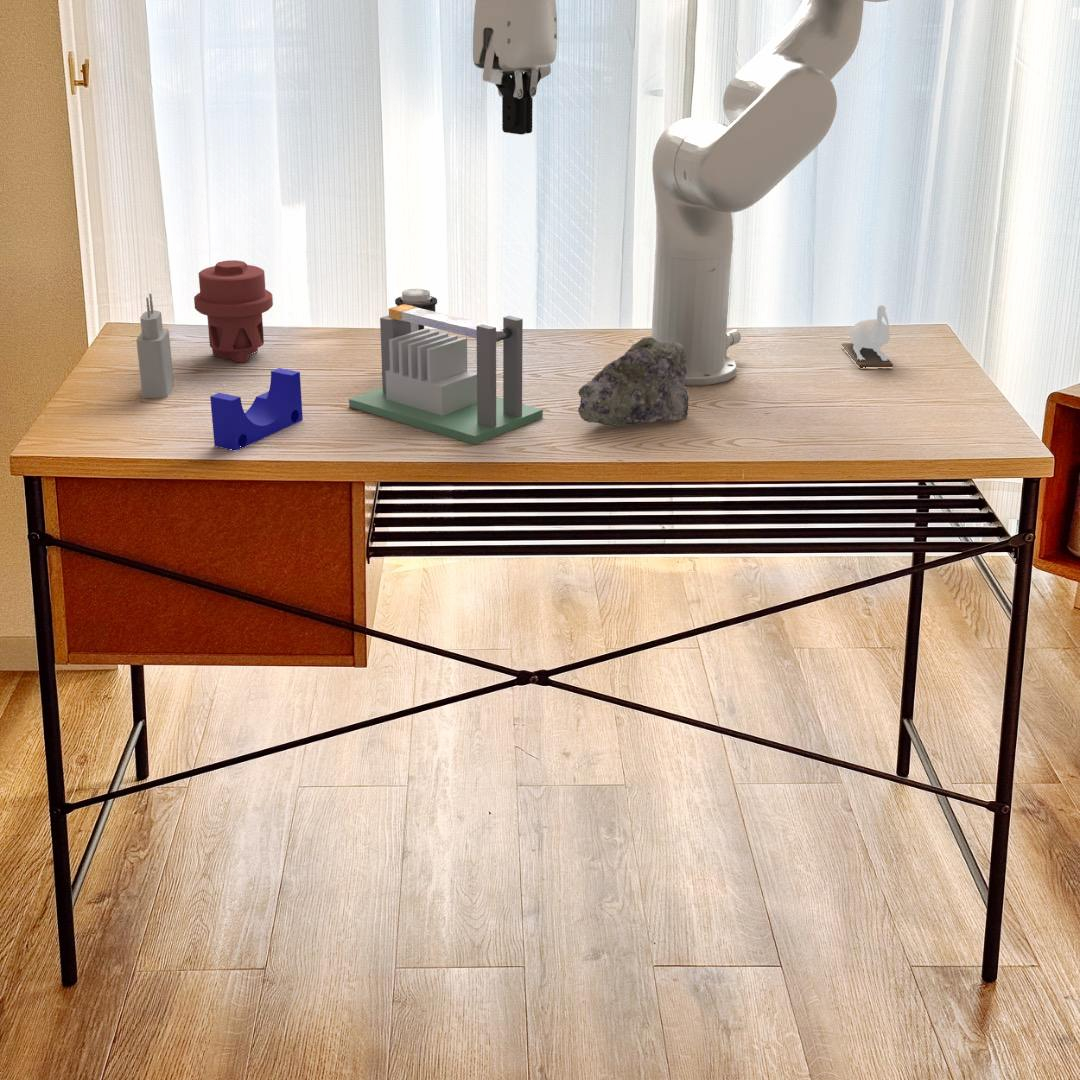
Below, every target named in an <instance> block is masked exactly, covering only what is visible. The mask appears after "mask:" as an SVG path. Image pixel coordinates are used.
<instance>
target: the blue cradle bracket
mask: <svg viewBox="0 0 1080 1080" xmlns="http://www.w3.org/2000/svg"><path fill="white" fill-rule="evenodd" d="M268 389H269V390H268V391H267V392H264V393H262V394H259V395H257V396H255V399H254V400H253V402H252V403H251V405H250V406H249V408H248V409H247V410H246V411H245V410H244V408H243V404H242V397H241V396H238V395H232V394H228V393H223V392H218V393H217V392H216V393H215V394H212V395H210V396H209V398H210V400H209V401H210V408H211V421H212V432H213V443H214V444H213V445H214V447H216V446H217V448H220V447H223V448H222V449H224V448H227V449H226V450H229V449H232V450H231V451H233V450H237V449H239V450H241V449H243V448H246V447H248V446H250V445H251V443H252V444H254V443H257V442H258V440H259V441H260V439H261V440H263V439H265V438H267V437H269V436H271V435H274V434H276V433H277V432H280V431H282V430H284V429H287V428H288V427H290V426H293V425H295V424H297V423H299V422H301V421H303V420H304V419H303V401H302V385H301V371H296V370H292V369H288V368H281V367H278V368H276V369H273V370H271V371H270V385H269V388H268ZM264 437H265V438H264ZM253 442H254V443H253ZM249 444H250V445H249ZM247 445H248V446H247ZM240 446H241V447H240ZM245 446H246V447H245ZM242 447H243V448H242ZM240 448H241V449H240ZM237 451H238V450H237Z"/></svg>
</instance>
